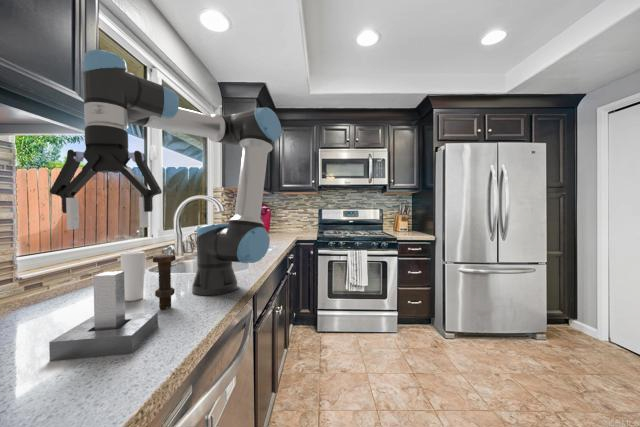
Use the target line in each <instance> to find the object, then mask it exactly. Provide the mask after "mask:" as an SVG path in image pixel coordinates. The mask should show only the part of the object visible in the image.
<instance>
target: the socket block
mask: <svg viewBox="0 0 640 427" xmlns="http://www.w3.org/2000/svg"><path fill="white" fill-rule="evenodd" d="M158 327H159V312H158V311H151V312H149V311H148V312H136V313H125V325H124V326H123V327H121V328H120V329H114V330H102V331H95V326H94V315H93V316H91V317H89V318H88V319H86V320H83V322H80V323H79V324H77V325H75V326H74V327H72V328H70V329H69V330H67V331H65V332H63V333H62V334H61V335H59V336H57V337H56V338H53V339H52V340H51V341H49V343H48V344H49V345H48V346H49V348H48V349H49V353H48V354H49V362H52V361H53V362H55V361H63V360H73V359H74V360H77V359H83V358H84V359H85V358H93V357H94V358H96V357H105V356H117V355H127V354H133V353H134V352H135V351H136V350H137V349H138V348H139V347H140V346H141V344H143V343H144V342H145V341H146V340H147V338H148V337H149V336H150V335H151V334H152V333H153V332H154V331H155V330H156V329H157V328H158Z"/></svg>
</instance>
